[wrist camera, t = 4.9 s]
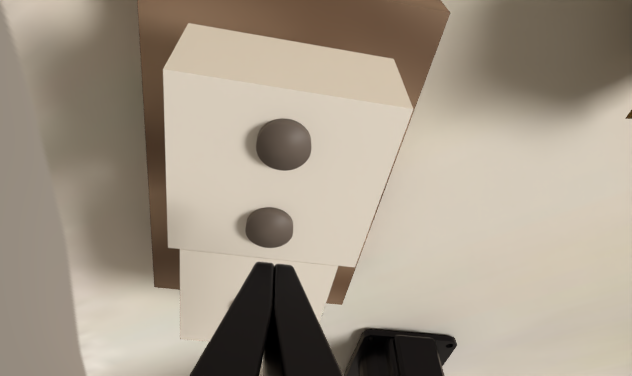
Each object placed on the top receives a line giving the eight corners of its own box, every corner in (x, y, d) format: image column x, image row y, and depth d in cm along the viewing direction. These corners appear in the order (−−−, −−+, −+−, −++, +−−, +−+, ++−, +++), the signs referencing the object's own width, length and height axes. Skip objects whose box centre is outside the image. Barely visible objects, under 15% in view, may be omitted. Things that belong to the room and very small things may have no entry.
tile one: (309, 297, 23) (310, 355, 21) (192, 285, 23) (178, 345, 20) (333, 213, 20) (338, 272, 17) (194, 196, 19) (178, 255, 16)
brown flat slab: (339, 276, 26) (341, 304, 25) (163, 258, 25) (154, 287, 23) (436, -6, 16) (450, 12, 15) (151, -62, 15) (134, -49, 13)
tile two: (347, 206, 17) (355, 274, 15) (186, 186, 16) (165, 254, 14) (393, 58, 13) (416, 115, 11) (188, 22, 13) (159, 74, 10)
